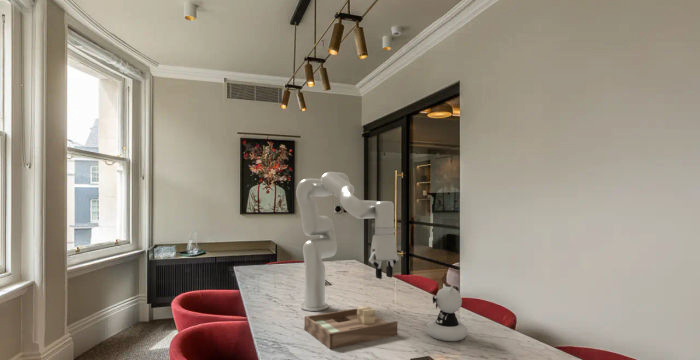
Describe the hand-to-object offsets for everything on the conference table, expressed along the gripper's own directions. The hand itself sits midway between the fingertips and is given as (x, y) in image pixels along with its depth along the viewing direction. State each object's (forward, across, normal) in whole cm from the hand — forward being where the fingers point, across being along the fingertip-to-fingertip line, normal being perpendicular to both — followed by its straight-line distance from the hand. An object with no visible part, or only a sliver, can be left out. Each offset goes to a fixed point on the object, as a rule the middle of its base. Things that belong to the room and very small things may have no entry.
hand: (384, 277), depth 155 cm
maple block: (+16, +8, 0) cm, 18 cm away
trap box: (+19, +16, 0) cm, 25 cm away
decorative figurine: (+20, -14, +20) cm, 32 cm away
